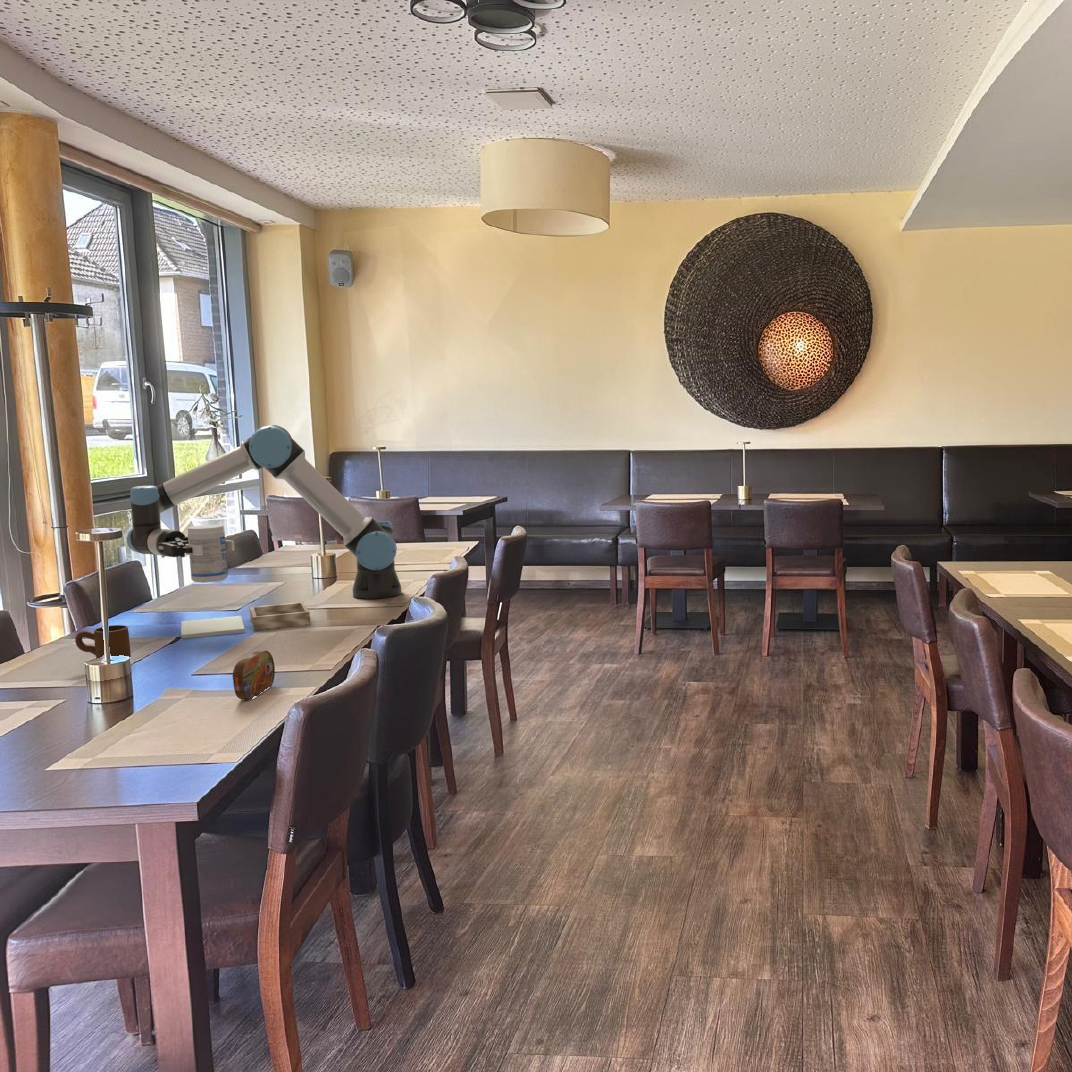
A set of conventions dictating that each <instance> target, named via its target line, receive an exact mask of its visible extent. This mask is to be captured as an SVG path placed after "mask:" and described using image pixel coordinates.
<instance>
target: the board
mask: <svg viewBox="0 0 1072 1072" xmlns="http://www.w3.org/2000/svg"><path fill="white" fill-rule="evenodd" d="M180 627H181V628H180V633H181V634H180V636H181V637H180V639H182V640H183V639H192V638H202V637H210V636H220V635H221V636H223V635H230V634H241V633H245V626H244V622H243V618H242V616H241V615H236V616H234V615H233V616H225V617H213V618H203V619H191V620H182V621H181V626H180Z"/></svg>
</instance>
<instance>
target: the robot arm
mask: <svg viewBox="0 0 1072 1072" xmlns="http://www.w3.org/2000/svg"><path fill="white" fill-rule="evenodd" d="M262 468H264V469H265V470H266V471H267V472H268V473H270V475H271V476H272V477H274V479H275V480H283V481H285V482H286V483H287V484H288V485H289V486H290V487H291V488H292V489H293V490H294V491H296V493H297V494H298V495H300V497H302V499H303V500H305V501H306V502H307V504H309V506H311V507H312V508H313V510H315V512H316V513H318V514H319V515H320V517H322V518H323V519H324V520H325V521H326V522H327V523H328V524H329V525H330V526H331V527H332V528H333V529H334V530H335V531H336V532H338V533H339V535H340V536H342V537H343V546H345V548H347V550H348V551H350V553H351V554H353V555H354V557H356V560H355V561H356V574H355V579H354V581H353V582H354V583H353V586H352V596H353V597H354V598H356V599H366V600H367V599H368V600H371V599H385V598H392V597H395V596H396V597H397V596H399V595H401V594H402V584H401V582H400V579H399V577H398V574H397V571H396V567H395V558H396V556H397V550H398V548H397V543H396V541H395V539H394V528H393V523H392V521H390V520H385V521H384V520H382V521H381V520H378V521H376V520H375V519H374V518H373V517H372V516H364V515H363V514H362V513H361V512H360V511H359V510H358V509H357V508H356V507H355V506H354V505H353V504H352V503H351V502H350V501H349V500H348V499H347V498H345V497H346V496H344V495H343V494H342V493H341V492H339V490H338V489H337V488H335V486H333V485H332V483H331V482H330V481H329V480H327V478H325V477H324V475H322V474H321V473H320V471H319V470H317V469H316V468H315V467H314V466H313V465H312V464H311V463H310V461H308V460H307V458H306V451H305V449H303V447H302V446H300V445H299V444H298V442H297V441H296V440H295V439H294V438H293V437H292V435H291V434H290V432H289V431H288V430H287V429H285V428H284V427H282V426H280V425H275V424H272V425H271V424H270V425H269V424H268V425H263V426H261V427H259V428H257V430H255V432H253V434H252V435H251V436H250V437H248V438H246V439H245V440H242V441H241V444H240V445H239V446H237V447H235V448H234V449H232V450H229V451H227V452H225V453H223V454H220V455H219V456H217V457H214V458H213V459H211V460H208V461H206V462H204V463H202V464H200V465H197V466H196V467H194V468H192V469H190V470H188V471H186V472H184V473H182V474H179V475H177V476H175V477H173V478H171V479H169V480H167V481H164V482H163V483H161V484H158V485H156V486H155V485H141V486H139V485H137V486H133V487H131V488H130V498H129V501H130V507H131V508H130V509H131V519H132V520H131V521H132V528H131V529H130V530H129V531H128V533H127V536H126V544H127V546H128V548H129V549H130V550H131V551H132V552H135V553H139V554H142V555H155V556H161V557H160V558H162V559H164V558H165V557H170V558H178V557H180V558H185V557H186V555H187V556H188V555H195V556H203V548H202V546H201V545H191V544H188V536H186V535H185V534H184V533H183V532H182V531H180V530H176V529H168V528H167V529H166V528H162V525H161V522H162V521H161V514H162V513H163V512H165V511H168V510H170V509H172V508H173V507H175V506H178V505H180V504H181V503H182V504H183V503H184V502H186V501H188V500H189V499H192V498H195V497H196V496H198V495H200V494H202V493H204V492H207V491H209V490H211V489H213V488H216V487H217V486H219V485H221V484H224V483H225V482H228V481H230V480H231V479H234V478H237V477H238V476H241V475H242V474H244V473H247V472H248V471H250V470H257V471H258V470H261V469H262ZM225 545H226V551H228V552H229V551H230V552H234V551H236V550H235V541H234V540H230V539H226V537H225Z"/></svg>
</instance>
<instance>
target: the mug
mask: <svg viewBox="0 0 1072 1072" xmlns="http://www.w3.org/2000/svg"><path fill="white" fill-rule="evenodd" d="M108 626H109V647H110V654H111V656H119V655H124V656H129V657H131V658H132V653H131V644H130V643H131V641H130V633H129V627H128V626H127V625H124V624H122V625H121V624H116V625H113V624H112V625H108ZM102 627H103V626H101V627H98V628H95V629H94V631H93V632H92V631H88V630H84V631H79V632H78V633H77V635H75V640H74V641H75V645H76V648H78V649H79V650H80V651H82V652H85V653H90V654H92V655H94V656H95V660H96V659H97V658H100V657H102V656H103V655H104V640H103V629H102ZM83 638H86V639H90V640H93V641H94V642H93V643H94V645H93V644H86V643H84V641H83Z"/></svg>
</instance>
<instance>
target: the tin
mask: <svg viewBox="0 0 1072 1072" xmlns="http://www.w3.org/2000/svg"><path fill="white" fill-rule="evenodd" d="M275 669H276V667H275V662H274V658H273V655H272V654H271V652H270V651H268V650H258V651H253V652H252V653H250V654H249V655H247V656H245V657H244V658H243V659H240V660H238V661H237V662H236V664H235V666H234V667H233V671H232V681H233V688H234V693H235V696H236V697H237V698H238V699H239V700H242V699H248V700H252V698H253V697H254V696H258V695H259V694H260V693H261V692H263V691H264V690H265V689H267V688H268V687H271V688H272V686H273V683H274V680H275V675H276V670H275ZM258 697H259V696H258ZM252 701H253V700H252Z"/></svg>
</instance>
